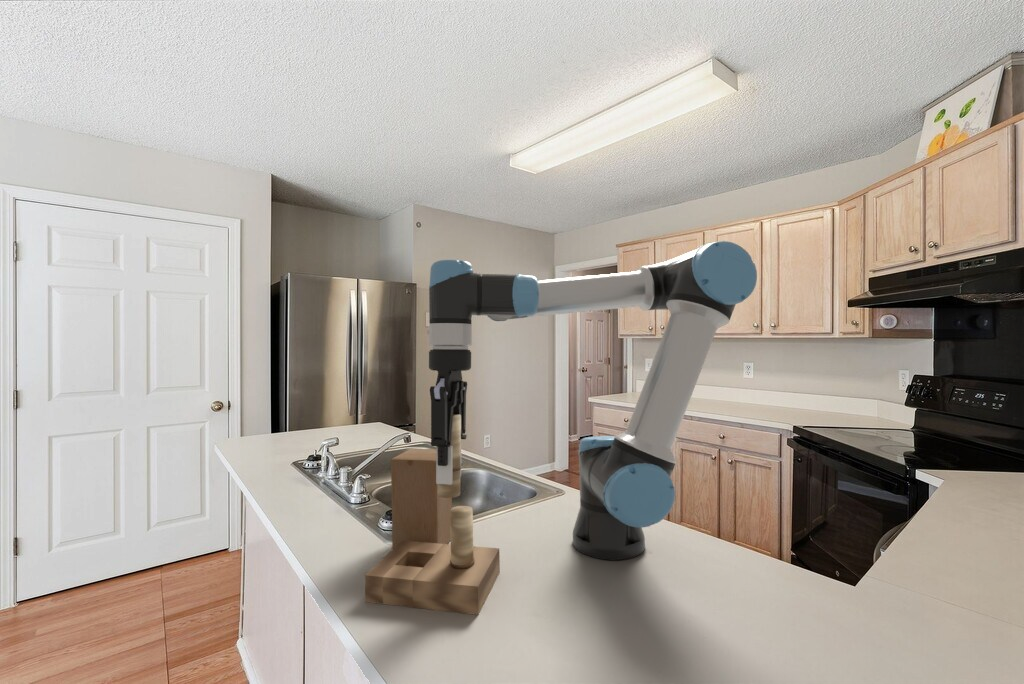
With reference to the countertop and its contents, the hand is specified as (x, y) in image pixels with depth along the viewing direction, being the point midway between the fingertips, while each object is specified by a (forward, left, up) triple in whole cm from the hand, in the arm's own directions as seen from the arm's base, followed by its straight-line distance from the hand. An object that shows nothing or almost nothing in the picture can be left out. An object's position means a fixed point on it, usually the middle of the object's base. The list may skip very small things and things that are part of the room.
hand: (449, 479), depth 81 cm
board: (+3, 0, -19) cm, 20 cm away
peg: (0, 0, -3) cm, 3 cm away
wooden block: (+12, -15, -20) cm, 28 cm away
